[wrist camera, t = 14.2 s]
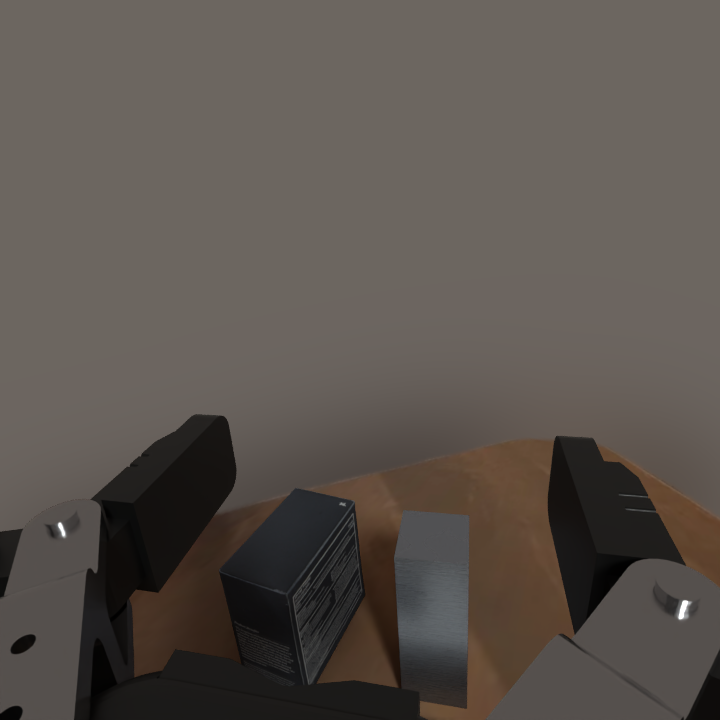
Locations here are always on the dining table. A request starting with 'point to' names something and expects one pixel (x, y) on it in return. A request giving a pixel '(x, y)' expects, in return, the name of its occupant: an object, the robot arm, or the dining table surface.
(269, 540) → the small box
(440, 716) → the dining table surface
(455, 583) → the brushed metal pillar
